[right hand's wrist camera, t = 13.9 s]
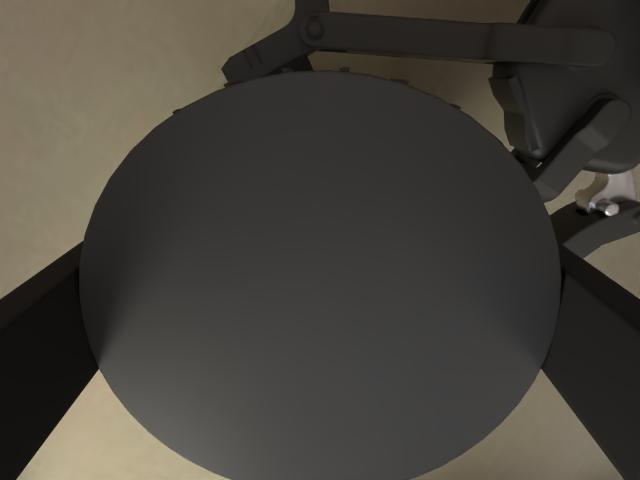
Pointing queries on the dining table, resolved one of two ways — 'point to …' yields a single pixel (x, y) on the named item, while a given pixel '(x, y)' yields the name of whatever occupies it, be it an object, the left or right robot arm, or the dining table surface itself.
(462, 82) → the dining table surface
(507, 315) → the lid
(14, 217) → the dining table surface
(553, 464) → the dining table surface
